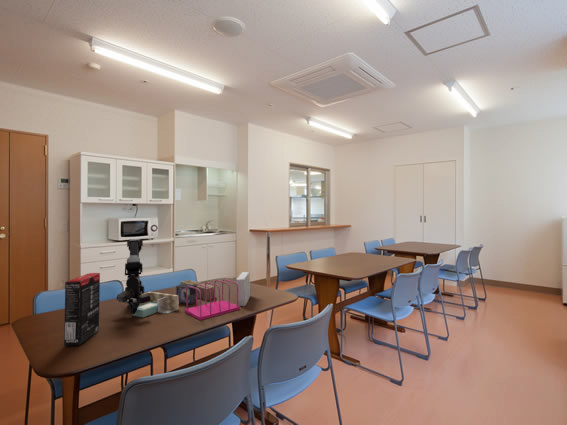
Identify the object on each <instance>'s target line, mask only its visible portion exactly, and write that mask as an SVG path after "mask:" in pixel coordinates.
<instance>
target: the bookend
mask: <svg viewBox="0 0 567 425" xmlns="http://www.w3.org/2000/svg"><path fill="white" fill-rule="evenodd" d="M175 311H177V310H176V309H171V308H168V297H167V296H166V297H164V298H161V299H158V300H157V312H156V313H159V314H165V315H169V314H171V313H172V312H175Z"/></svg>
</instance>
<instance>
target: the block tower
mask: <svg viewBox="0 0 567 425" xmlns="http://www.w3.org/2000/svg"><path fill="white" fill-rule="evenodd" d="M181 284H189V285H197V284H201V285H204V286H205V283H203V282H199V281H195V280H192V279H187V280H182V281H180V282H179V285H181ZM206 286H207V287H209V288H210V290H211V300H212V299H213V300H214V285H213V284H209V283H206ZM197 288H198V289H199V290H200V292H201V300H204V301H205V287H203V286H200V285H197ZM197 299H200V293H199V291H198V290H197ZM206 301H210V291H209V289H208V288H206Z"/></svg>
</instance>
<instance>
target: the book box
mask: <svg viewBox="0 0 567 425" xmlns="http://www.w3.org/2000/svg"><path fill="white" fill-rule="evenodd" d="M155 313H158V312H157V303H151V302H150V303H147V304H145V305H142V306H139V307H138V308H137V310H136V312H135V314H132V313H131V314H132V315H131V316H133V317H139V318H145V317H148V316H150V315H153V314H155Z"/></svg>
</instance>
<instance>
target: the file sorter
mask: <svg viewBox="0 0 567 425" xmlns="http://www.w3.org/2000/svg"><path fill="white" fill-rule="evenodd" d="M216 282H219V283H221V288H220V286H219V284H217V283H216ZM228 282H229V283H233V284H235V285H237V287H236V304H234V303H232V302H231V286H230V284H229V283H228ZM204 284H205V286H204V285H201V284H197V285H200V286H203V287H205V300H204V304H202V299H201V292H200V290H199V289H198V288H197V285H196V288H195V287H192V286H187V287H186V304H185V305H186V306H185V307H186V308H185V309H184V313H186V314H188V315H189V316H192V318H193V317H194V318H195V319H197V320H199V321H202V320H205V319H209V318H212V317H216V316H220V315H224V314H228V313H231V312H235V311H239V310H240V309H241V306H238V284H237V283H236V281H234V280H229V279H222V280H220V279H215V281H214V282H213V283H212V282H210V281H209V282H208V281H206V282H205V283H204ZM206 284H208V285H212V286H214V298H213V302H212V299H211V290H210V288H209V287H207V286H206ZM224 284H226V285H227V287H228V301H227V300H224ZM188 287H191V288H194V289H196V302H195V306H192V307H189V308H188V301H187V288H188ZM216 287H217V289H218V300H217V301H216ZM206 288H208V289H209V291H210V299H209V303H207V300H206ZM197 290H198V291H199V293H200V298H199V305H198V298H197ZM221 295H222V296H221ZM221 297H222V299H221Z"/></svg>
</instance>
